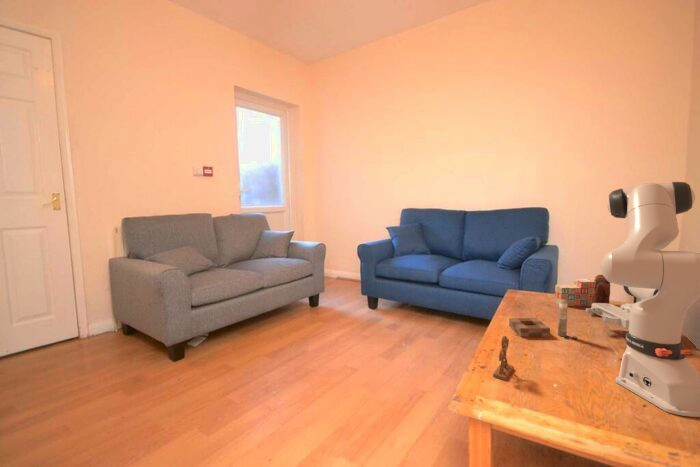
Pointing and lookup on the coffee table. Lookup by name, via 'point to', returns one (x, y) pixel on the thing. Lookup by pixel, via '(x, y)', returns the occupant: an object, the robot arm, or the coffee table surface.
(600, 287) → the wooden figurine
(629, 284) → the robot arm
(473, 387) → the coffee table surface
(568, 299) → the stack of blocks
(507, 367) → the brown ring sculpture
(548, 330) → the square hole block
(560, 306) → the wooden dowel
